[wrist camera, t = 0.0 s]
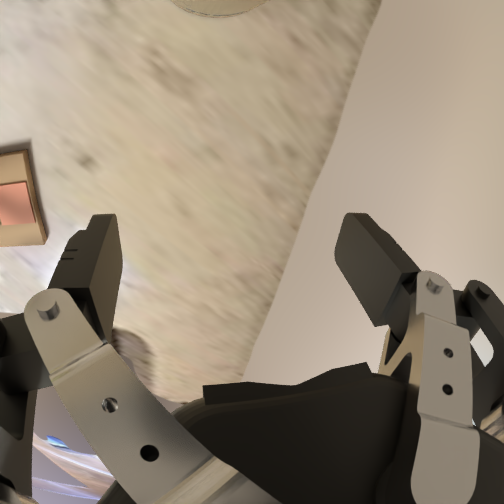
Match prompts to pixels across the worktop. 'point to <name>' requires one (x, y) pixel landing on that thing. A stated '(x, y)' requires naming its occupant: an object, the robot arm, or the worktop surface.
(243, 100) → the worktop surface
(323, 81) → the worktop surface
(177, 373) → the worktop surface
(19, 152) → the game board
